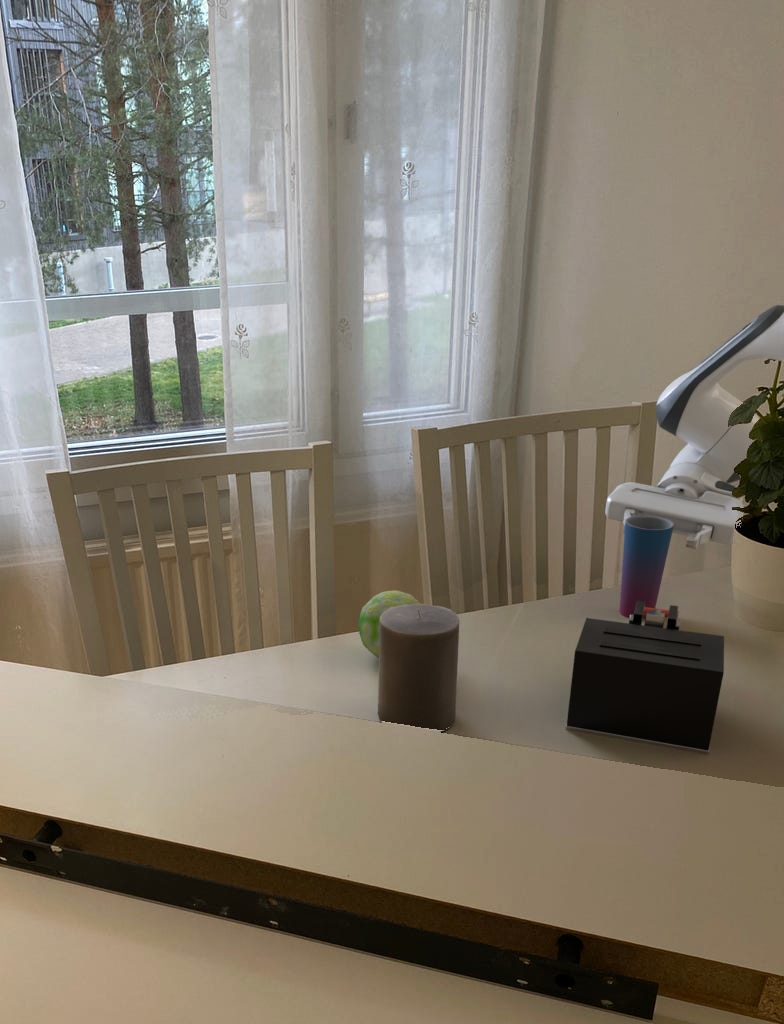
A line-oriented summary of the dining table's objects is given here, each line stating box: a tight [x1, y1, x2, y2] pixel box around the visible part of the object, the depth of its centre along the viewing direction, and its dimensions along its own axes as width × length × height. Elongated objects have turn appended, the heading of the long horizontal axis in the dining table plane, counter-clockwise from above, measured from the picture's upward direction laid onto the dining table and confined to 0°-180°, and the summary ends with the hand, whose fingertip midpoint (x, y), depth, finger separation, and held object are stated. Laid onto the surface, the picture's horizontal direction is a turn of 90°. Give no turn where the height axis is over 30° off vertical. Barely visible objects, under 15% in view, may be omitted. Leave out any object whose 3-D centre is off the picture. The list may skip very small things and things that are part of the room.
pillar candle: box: [377, 603, 460, 731], centre depth 112 cm, size 10×10×15 cm
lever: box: [643, 607, 680, 628], centre depth 119 cm, size 12×6×2 cm, turn 157°
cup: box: [619, 516, 674, 621], centre depth 138 cm, size 7×7×15 cm
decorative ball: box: [358, 590, 421, 658], centre depth 128 cm, size 10×10×10 cm
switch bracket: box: [628, 601, 682, 630], centre depth 117 cm, size 6×8×12 cm
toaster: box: [564, 617, 725, 756], centre depth 110 cm, size 16×10×11 cm, turn 67°
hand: (659, 537), depth 139 cm, fingers open, 8 cm apart
